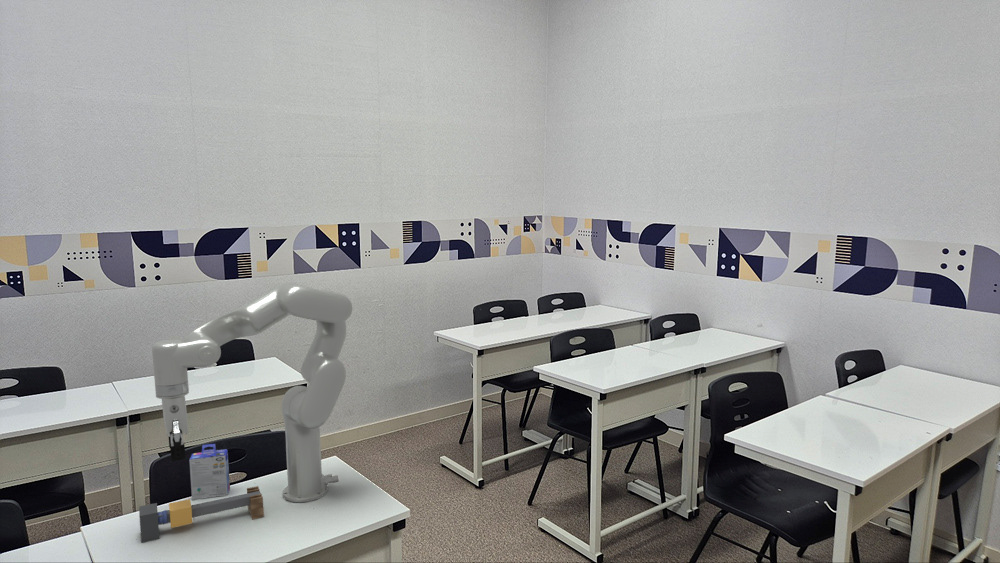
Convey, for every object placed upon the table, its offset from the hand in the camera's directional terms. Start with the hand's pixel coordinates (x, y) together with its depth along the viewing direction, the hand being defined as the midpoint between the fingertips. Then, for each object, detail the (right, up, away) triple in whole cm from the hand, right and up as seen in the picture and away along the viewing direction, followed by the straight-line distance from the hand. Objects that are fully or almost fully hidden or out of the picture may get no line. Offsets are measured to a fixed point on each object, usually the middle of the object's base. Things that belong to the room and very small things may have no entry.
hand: (177, 453), depth 167 cm
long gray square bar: (+5, -17, +5) cm, 19 cm away
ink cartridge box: (-1, -18, +22) cm, 29 cm away
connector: (-6, -21, -1) cm, 22 cm away
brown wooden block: (+16, -19, +11) cm, 27 cm away
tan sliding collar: (0, -18, +2) cm, 18 cm away
